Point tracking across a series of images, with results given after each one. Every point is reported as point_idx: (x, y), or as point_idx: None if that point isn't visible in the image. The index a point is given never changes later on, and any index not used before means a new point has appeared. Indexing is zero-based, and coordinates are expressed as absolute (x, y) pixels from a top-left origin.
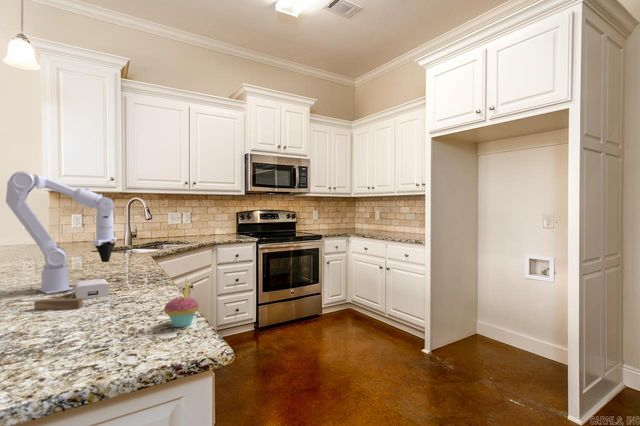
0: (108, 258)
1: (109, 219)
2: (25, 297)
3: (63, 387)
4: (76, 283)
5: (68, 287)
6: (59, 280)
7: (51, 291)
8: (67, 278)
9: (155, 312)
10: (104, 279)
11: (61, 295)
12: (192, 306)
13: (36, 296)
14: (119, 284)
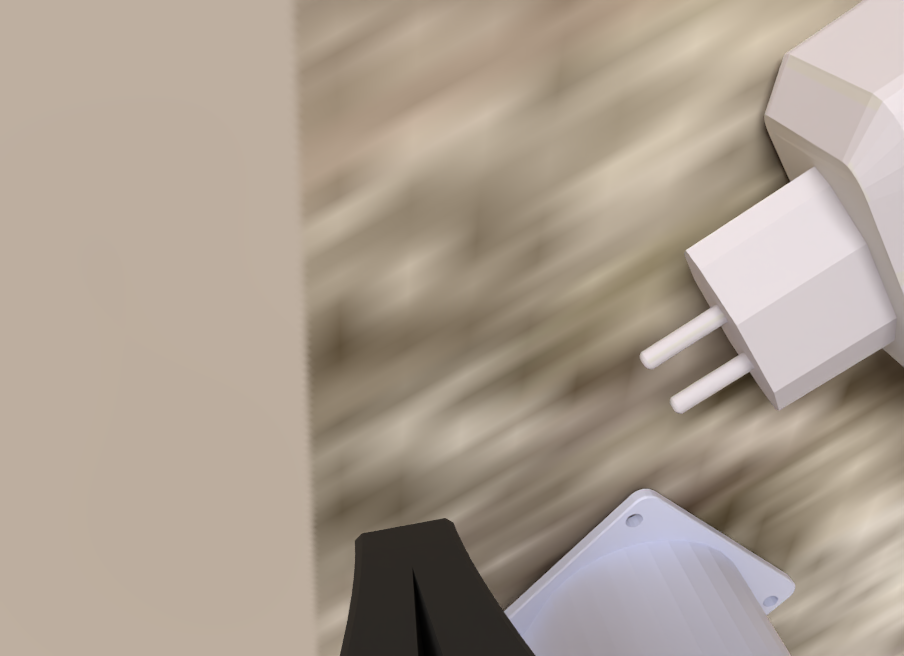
0: (459, 575)
1: None
2: (849, 645)
3: None
4: None
5: (609, 555)
6: (779, 648)
7: (757, 584)
8: (685, 644)
9: None
10: (901, 116)
11: (877, 430)
12: None
13: (841, 598)
14: (350, 51)
